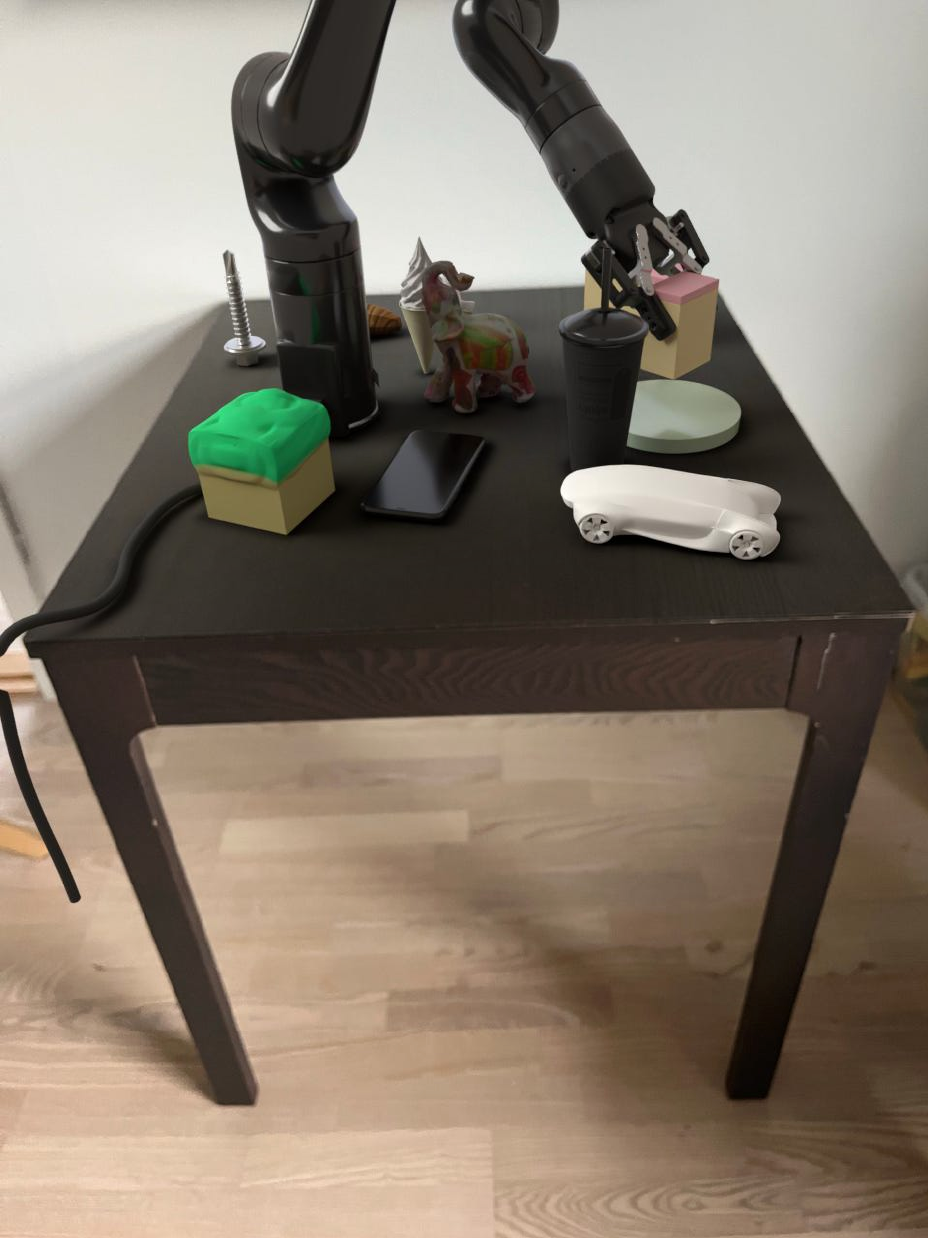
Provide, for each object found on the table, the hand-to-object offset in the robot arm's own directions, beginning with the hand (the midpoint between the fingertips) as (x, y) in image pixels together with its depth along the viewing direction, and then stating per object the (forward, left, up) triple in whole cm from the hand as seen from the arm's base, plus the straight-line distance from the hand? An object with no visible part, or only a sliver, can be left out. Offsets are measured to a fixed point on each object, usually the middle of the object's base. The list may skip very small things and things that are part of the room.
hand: (689, 324), depth 92 cm
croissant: (+17, +42, -10) cm, 47 cm away
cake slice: (+1, +1, -4) cm, 4 cm away
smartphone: (-17, +21, -10) cm, 29 cm away
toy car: (-20, -1, -10) cm, 23 cm away
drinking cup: (-11, +6, -10) cm, 16 cm away
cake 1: (-24, +34, -10) cm, 42 cm away
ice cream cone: (+7, +29, -10) cm, 32 cm away
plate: (0, +1, -10) cm, 10 cm away
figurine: (0, +21, -10) cm, 23 cm away
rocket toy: (+21, +31, -10) cm, 39 cm away
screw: (+6, +51, -10) cm, 52 cm away
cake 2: (+25, +8, -10) cm, 28 cm away
